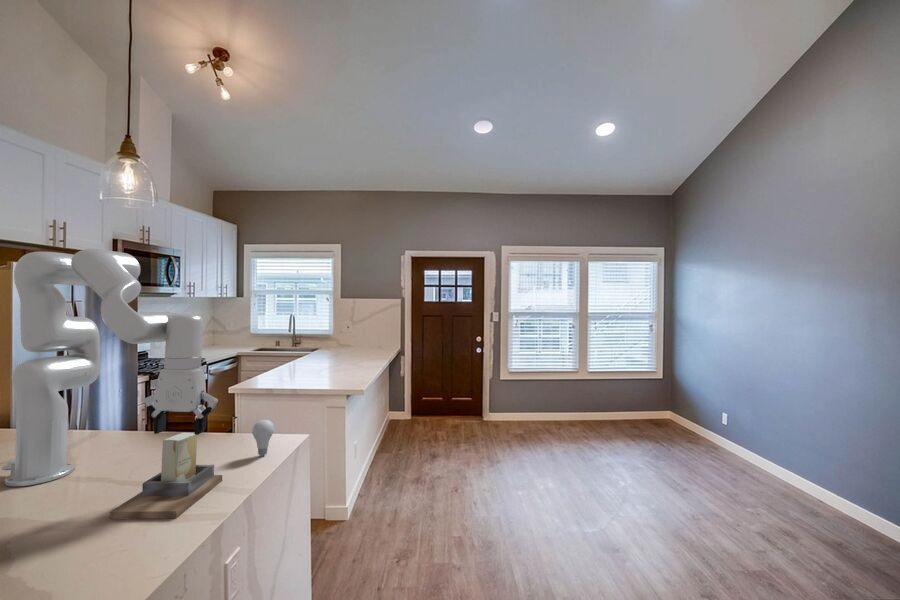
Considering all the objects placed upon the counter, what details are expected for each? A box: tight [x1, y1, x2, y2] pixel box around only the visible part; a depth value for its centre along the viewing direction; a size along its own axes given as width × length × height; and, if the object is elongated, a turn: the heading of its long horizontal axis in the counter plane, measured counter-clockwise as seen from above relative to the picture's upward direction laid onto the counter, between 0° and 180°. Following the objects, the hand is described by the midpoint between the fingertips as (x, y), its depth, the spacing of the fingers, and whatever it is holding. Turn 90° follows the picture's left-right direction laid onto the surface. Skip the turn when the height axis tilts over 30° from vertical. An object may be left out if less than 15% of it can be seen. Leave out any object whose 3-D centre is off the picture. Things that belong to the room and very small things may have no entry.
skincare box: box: [160, 432, 198, 481], centre depth 95 cm, size 6×4×12 cm
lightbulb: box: [251, 419, 275, 457], centre depth 118 cm, size 6×6×11 cm
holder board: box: [109, 464, 223, 520], centre depth 92 cm, size 14×18×4 cm
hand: (179, 432), depth 95 cm, fingers open, 9 cm apart
